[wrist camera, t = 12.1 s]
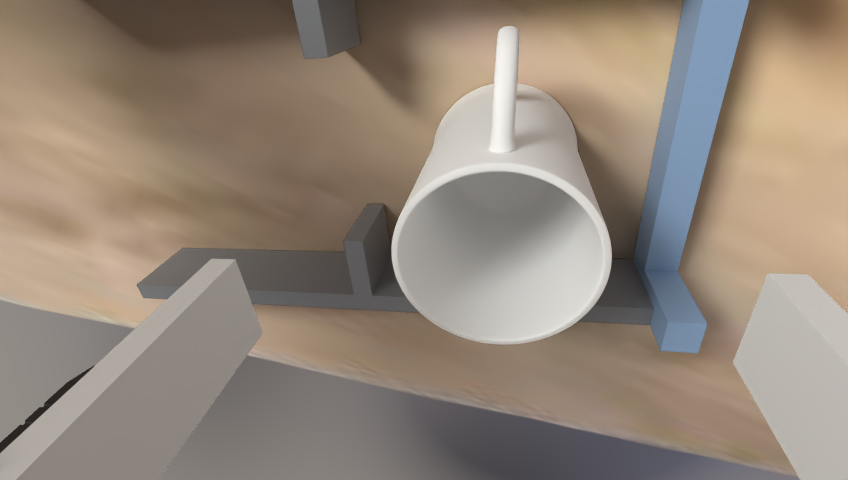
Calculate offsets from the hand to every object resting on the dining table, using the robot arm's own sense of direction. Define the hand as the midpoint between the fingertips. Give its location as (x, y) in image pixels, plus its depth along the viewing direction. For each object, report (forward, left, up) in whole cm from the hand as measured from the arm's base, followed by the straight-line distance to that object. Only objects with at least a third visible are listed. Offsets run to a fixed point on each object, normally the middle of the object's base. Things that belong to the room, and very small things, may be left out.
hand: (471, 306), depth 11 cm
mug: (0, +1, -17) cm, 17 cm away
